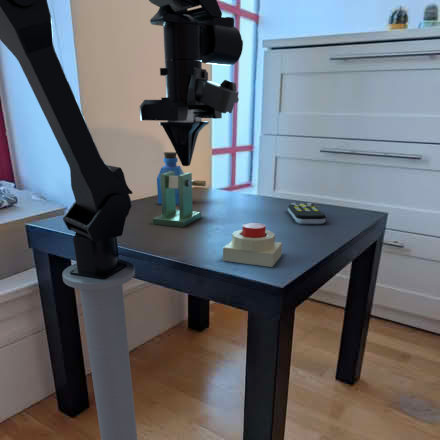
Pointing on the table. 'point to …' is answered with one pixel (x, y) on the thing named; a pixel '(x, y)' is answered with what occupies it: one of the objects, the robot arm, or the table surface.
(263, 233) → the button
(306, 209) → the remote control
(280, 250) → the control box
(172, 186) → the lever
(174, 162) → the perfume bottle
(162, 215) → the bracket
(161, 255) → the table surface
